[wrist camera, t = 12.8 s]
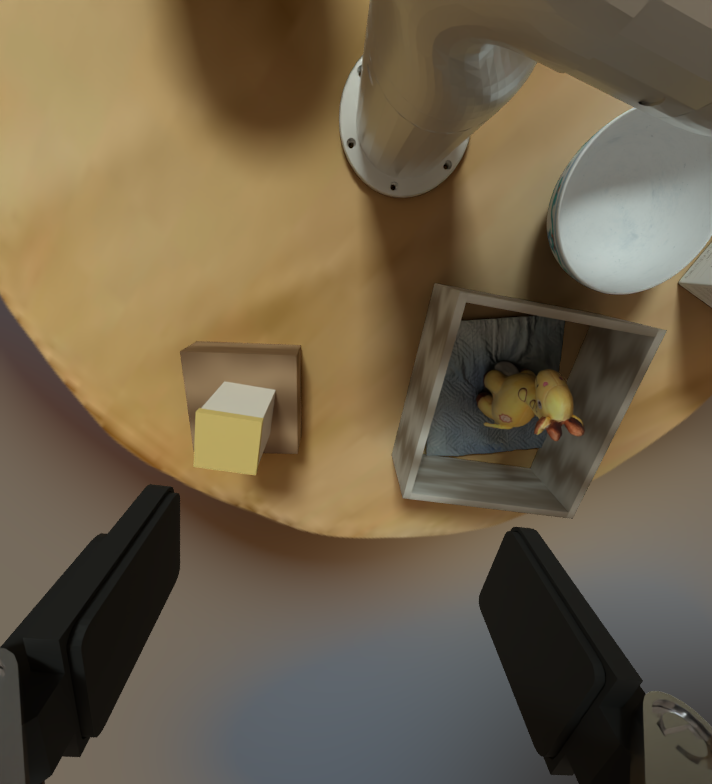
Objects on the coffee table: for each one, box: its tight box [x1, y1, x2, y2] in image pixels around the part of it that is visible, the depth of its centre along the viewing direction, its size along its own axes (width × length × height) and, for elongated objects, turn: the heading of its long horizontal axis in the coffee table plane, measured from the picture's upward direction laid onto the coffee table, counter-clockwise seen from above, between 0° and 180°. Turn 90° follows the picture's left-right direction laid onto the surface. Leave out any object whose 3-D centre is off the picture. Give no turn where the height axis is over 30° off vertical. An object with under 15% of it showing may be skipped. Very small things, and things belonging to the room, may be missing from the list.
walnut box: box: [180, 341, 301, 454], centre depth 42 cm, size 12×12×5 cm
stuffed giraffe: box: [427, 315, 585, 456], centre depth 38 cm, size 16×18×16 cm
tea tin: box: [194, 381, 276, 475], centre depth 36 cm, size 6×6×8 cm
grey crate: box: [392, 283, 667, 519], centre depth 41 cm, size 23×21×9 cm
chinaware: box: [547, 107, 712, 295], centre depth 34 cm, size 15×15×8 cm
